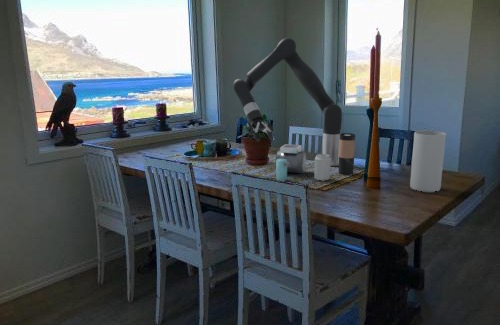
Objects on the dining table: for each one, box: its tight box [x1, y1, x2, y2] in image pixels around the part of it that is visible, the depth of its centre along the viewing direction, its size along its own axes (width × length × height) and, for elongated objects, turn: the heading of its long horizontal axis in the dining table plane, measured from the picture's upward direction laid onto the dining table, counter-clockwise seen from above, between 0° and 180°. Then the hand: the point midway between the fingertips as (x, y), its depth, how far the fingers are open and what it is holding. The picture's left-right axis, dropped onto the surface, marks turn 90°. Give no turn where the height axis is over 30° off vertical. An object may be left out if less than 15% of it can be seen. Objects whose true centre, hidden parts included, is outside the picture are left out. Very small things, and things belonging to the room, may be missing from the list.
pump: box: [275, 158, 291, 182], centre depth 199 cm, size 8×5×10 cm, turn 39°
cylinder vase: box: [409, 130, 447, 193], centre depth 183 cm, size 12×12×25 cm
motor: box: [274, 143, 307, 174], centre depth 214 cm, size 13×11×14 cm
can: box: [314, 153, 331, 182], centre depth 201 cm, size 8×8×12 cm
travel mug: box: [338, 132, 356, 176], centre depth 210 cm, size 8×8×20 cm
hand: (265, 139), depth 209 cm, fingers open, 8 cm apart
